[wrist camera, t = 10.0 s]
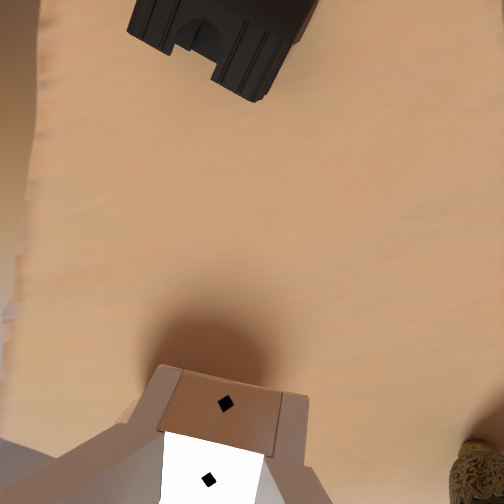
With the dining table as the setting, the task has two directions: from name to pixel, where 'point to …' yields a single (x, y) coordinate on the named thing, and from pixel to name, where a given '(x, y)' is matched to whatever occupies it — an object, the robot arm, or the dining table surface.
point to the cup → (477, 475)
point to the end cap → (227, 36)
